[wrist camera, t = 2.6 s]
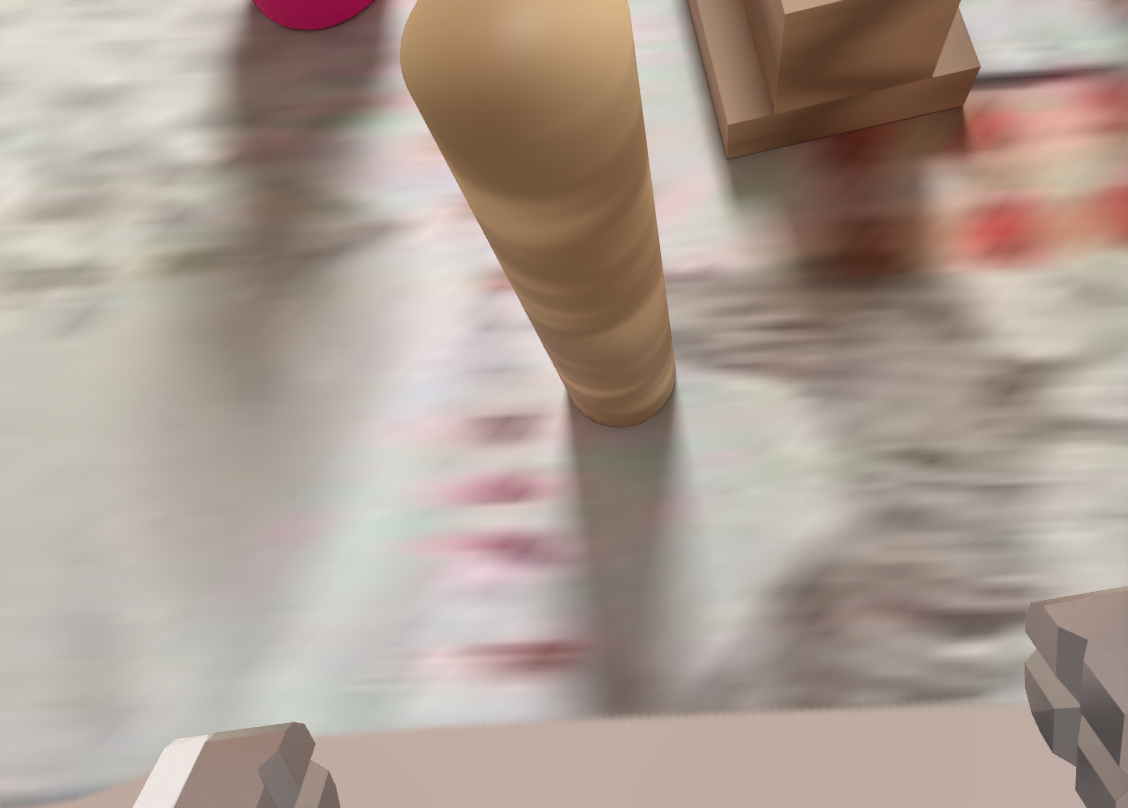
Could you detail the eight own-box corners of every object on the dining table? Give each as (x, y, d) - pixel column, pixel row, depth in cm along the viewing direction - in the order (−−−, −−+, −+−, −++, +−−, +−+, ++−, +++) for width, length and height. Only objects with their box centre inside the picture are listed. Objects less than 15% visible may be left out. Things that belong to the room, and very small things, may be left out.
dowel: (575, 436, 28) (411, 162, 13) (558, 335, 29) (390, -27, 14) (685, 415, 27) (650, 106, 12) (664, 313, 29) (608, -84, 13)
